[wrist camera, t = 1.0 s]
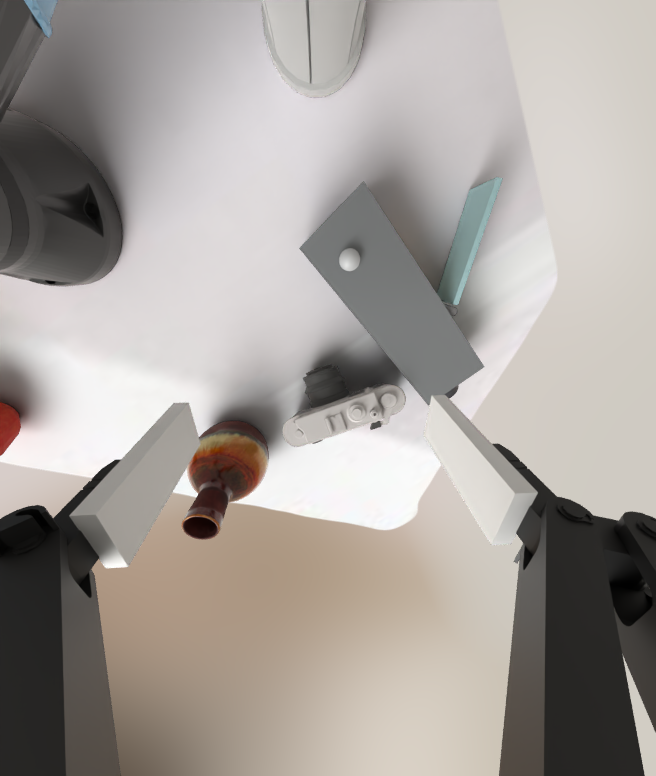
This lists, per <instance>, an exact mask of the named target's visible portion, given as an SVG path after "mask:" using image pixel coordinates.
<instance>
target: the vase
mask: <svg viewBox="0 0 656 776" xmlns="http://www.w3.org/2000/svg"><path fill="white" fill-rule="evenodd" d="M199 440H200V446H199V447H198V449H197V451H196V453H195V454H194V456H193V458H192V459H191V461H190V463H189V464H188V466H187V474H188V478H189V481H190V483H191V485H192V487H193V488H194V490H195V491H196V492H197V493H198V496H197V498H196V500H195V501H194V503H193V505H192V506H191V508H190V509H189V511H188V513H187V514H186V516H185V518H184V519H183V521H182V529H183V531H184V532H185V533H186V534H187V535H189V536H190V537H193V538H196V539H202V540H203V539H211V538H213V537H215V536H216V535H217V534H218V533H219V531H220V528H221V525H222V521H223V518H224V514H225V510H226V508H227V505H228V503H230V502H234V501H238V500H240V499H242V498H244V497H246V496H248V495H249V494H250V493H252V492H253V491H254V490H255V489H256V488H257V487H258V486H259V484H260V483H261V481H262V480H263V478H264V476H265V474H266V471H267V467H268V460H269V454H268V447H267V443H266V441H265V439H264V437H263V435H262V434H261V433H260V432H259V431H258V430H257V429H256V428H255V427H253V426H251V425H250V424H247V423H245V422H241V421H226V422H222V423H219V424H217V425H214V426H213V427H211V428H209V429H208V430H207V431H205V432H204V433H203V434H202V435H201V436H200V437H199Z"/></svg>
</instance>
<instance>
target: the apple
mask: <svg viewBox="0 0 656 776" xmlns="http://www.w3.org/2000/svg"><path fill="white" fill-rule="evenodd" d="M20 428H21V424H20V417H19V413H18V412H17V411H16V410H15V409H14V408H13V407H11V406H9V405H7V404H5V403H2V402H0V456H1V455H2V454H3V453H4V452H5V451H6V449H7V448H8V447H9V445H10V444H11V443H12V442H13V440H14V439H15V438H16V437H17V435H18V434H19V431H20Z"/></svg>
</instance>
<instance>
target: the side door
mask: <svg viewBox="0 0 656 776" xmlns="http://www.w3.org/2000/svg"><path fill="white" fill-rule="evenodd" d="M502 179H503V178H499V177H496V178H494V179H492V180H490V181H488V182H485V183H483V184H481V185H479V186H477V187H475V188H473V189H471V190H469V194H468V197H467V200H466V203H465V206H464V210H463V213H462V216H461V219H460V222H459V225H458V229H457V232H456V235H455V238H454V241H453V244H452V248H451V251H450V254H449V257H448V260H447V264H446V267H445V270H444V273H443V276H442V279H441V283H440V286H439V289H438V292H437V295H438V296H439V298H440V299H441V301H444V302H447V303H450V304H454V305H458V304H459V301H460V298H461V295H462V292H463V289H464V287H465V284H466V281H467V278H468V275H469V272H470V270H471V267H472V264H473V261H474V258H475V256H476V253H477V250H478V247H479V244H480V241H481V239H482V236H483V233H484V230H485V227H486V224H487V222H488V219H489V216H490V213H491V210H492V208H493V205H494V202H495V199H496V196H497V193H498V191H499V188H500V185H501V182H502ZM444 306H445V307H446V309H447V310H448V312H449V313H450V315H451V316H455V315H456V314H457V309H456V308H455V307H452V306H449V305H446V304H444Z"/></svg>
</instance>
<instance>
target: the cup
mask: <svg viewBox="0 0 656 776" xmlns="http://www.w3.org/2000/svg"><path fill="white" fill-rule="evenodd" d="M262 16H263V26H264V34H265V38H266V43H267V46H268V49H269V52H270V55H271V58H272V61H273V64H274V66H275V67H276V69H277V71H278V72H279V74H280V75H281V77H282V79H283V80H284V81H285V82H286V83H287V84H288V85H289V86H290V87H291V88H292V89H294V90H295V91H296V92H297V93H300V94H302V95H305V96H307V97H310V98H317V97H326V96H328V95H330V94H332V93H334V92H336V91H338V90H339V89H340V88H341V87H342V86H343V85H344V84H345V83H346V82H347V80H348V79H349V78H350V77H351V75H352V73H353V71H354V69H355V67H356V64H357V62H358V60H359V57H360V52H361V48H362V43H363V38H364V34H365V29H366V0H262Z"/></svg>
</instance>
